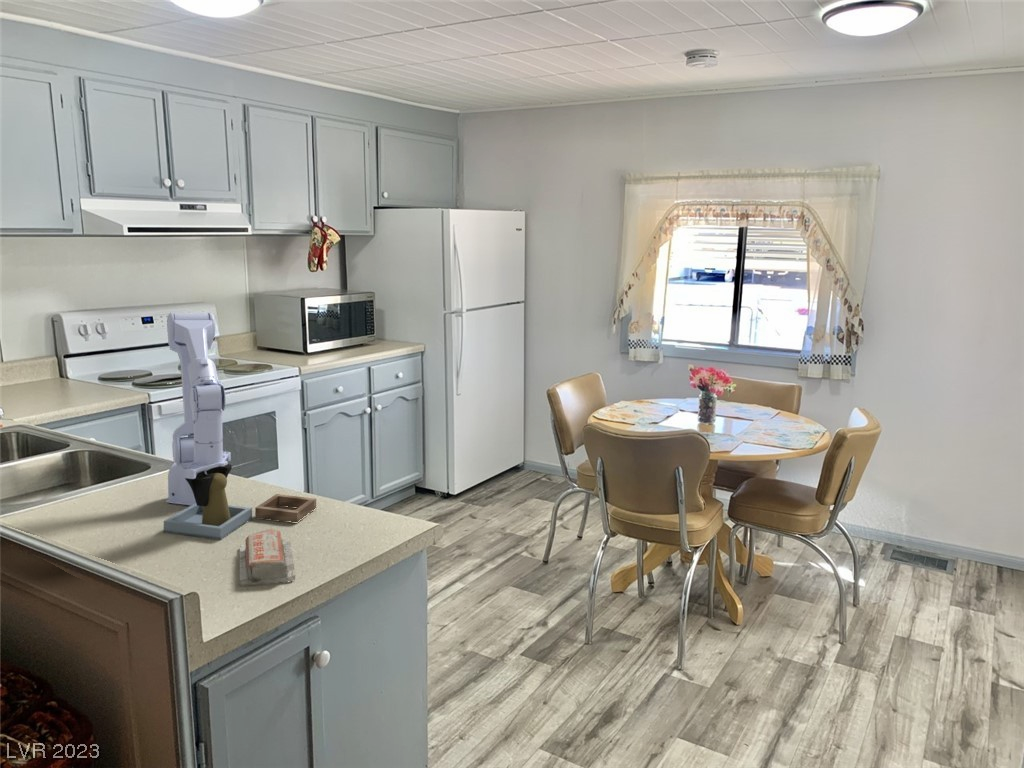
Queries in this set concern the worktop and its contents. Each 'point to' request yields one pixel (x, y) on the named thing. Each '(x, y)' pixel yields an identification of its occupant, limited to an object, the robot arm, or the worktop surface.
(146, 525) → the worktop surface
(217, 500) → the cork
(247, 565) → the packaged product
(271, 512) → the frame
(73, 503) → the worktop surface
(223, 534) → the parts tray
